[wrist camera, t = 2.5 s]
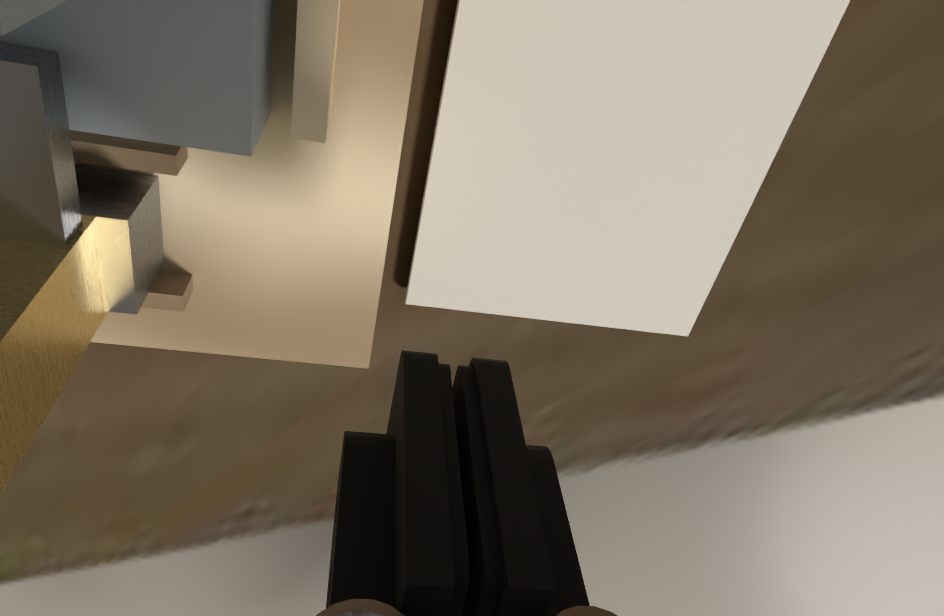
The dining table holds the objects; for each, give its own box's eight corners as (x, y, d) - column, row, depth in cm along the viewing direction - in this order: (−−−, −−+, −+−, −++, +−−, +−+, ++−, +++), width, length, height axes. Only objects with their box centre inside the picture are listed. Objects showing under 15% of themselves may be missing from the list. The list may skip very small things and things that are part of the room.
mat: (482, -137, 14) (483, -136, 14) (861, -46, 16) (871, -44, 15) (405, 296, 20) (405, 303, 20) (683, 328, 22) (688, 336, 22)
